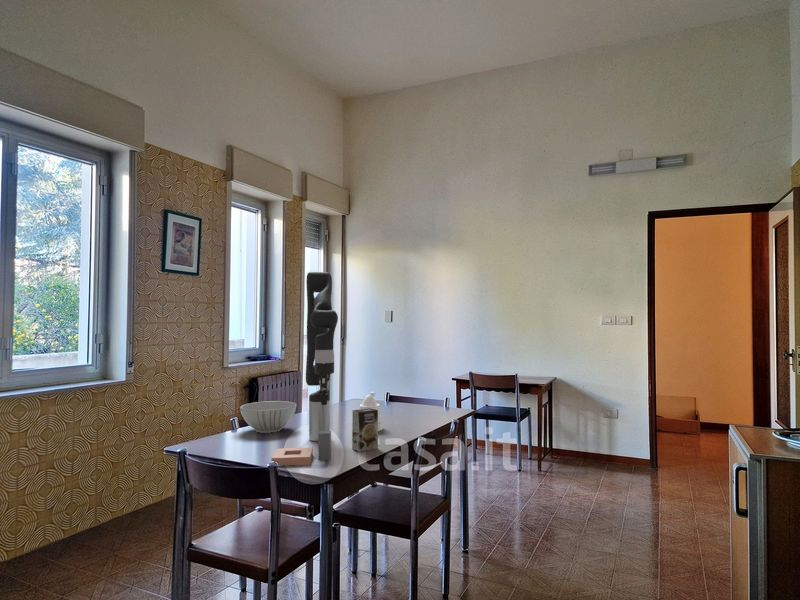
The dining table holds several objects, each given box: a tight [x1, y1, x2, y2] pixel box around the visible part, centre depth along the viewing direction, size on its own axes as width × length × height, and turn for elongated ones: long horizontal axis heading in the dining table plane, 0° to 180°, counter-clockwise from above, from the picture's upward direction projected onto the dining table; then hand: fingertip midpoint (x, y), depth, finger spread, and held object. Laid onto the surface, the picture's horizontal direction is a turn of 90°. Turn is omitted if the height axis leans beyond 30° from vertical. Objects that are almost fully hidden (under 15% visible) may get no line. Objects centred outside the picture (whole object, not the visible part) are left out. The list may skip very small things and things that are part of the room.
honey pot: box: [359, 391, 383, 432], centre depth 252 cm, size 13×13×18 cm
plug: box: [317, 430, 332, 461], centre depth 200 cm, size 5×5×10 cm
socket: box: [270, 447, 314, 467], centre depth 197 cm, size 14×14×3 cm
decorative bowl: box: [239, 400, 297, 434], centre depth 251 cm, size 27×27×12 cm
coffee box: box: [351, 408, 379, 452], centre depth 213 cm, size 9×6×16 cm
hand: (324, 403), depth 201 cm, fingers open, 8 cm apart
